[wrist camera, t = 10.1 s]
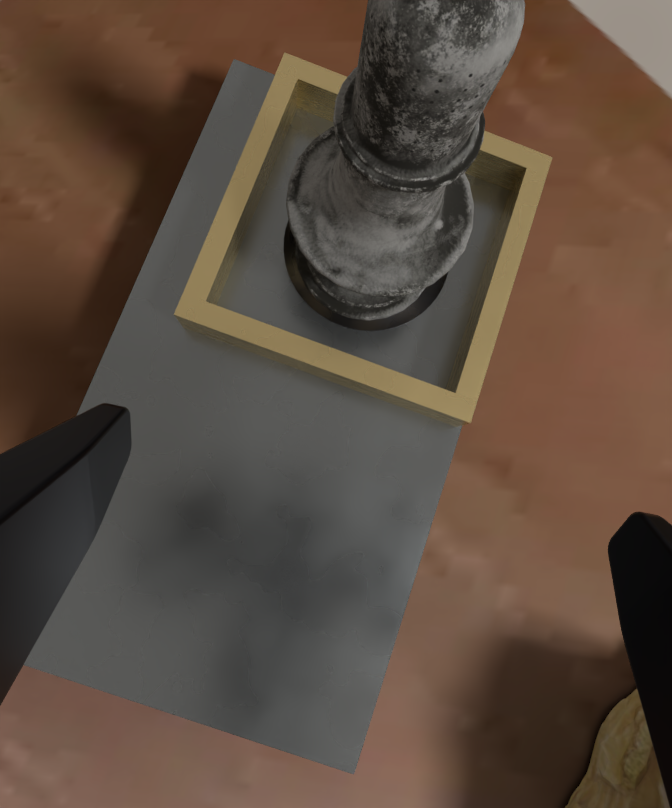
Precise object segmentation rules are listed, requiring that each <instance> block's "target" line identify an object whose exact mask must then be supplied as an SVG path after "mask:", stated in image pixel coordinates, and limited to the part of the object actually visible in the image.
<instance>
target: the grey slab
mask: <svg viewBox="0 0 672 808" xmlns="http://www.w3.org/2000/svg"><path fill="white" fill-rule="evenodd" d="M346 78H347V77H346V76H343V75H341V74H338V73H336V72H333V71H331V70H328V69H325V68H323V67H320V66H318V65H315V64H313V63H310V62H308V61H305V60H302V59H300V58H297V57H295V56H292V55H290V54H287V53H284V55H283V58H282V60H281V62H280V65H279V67H278V69H277V72H276V74H275V75H274V74H271V73H268V72H266V71H263V70H261V69H258V68H256V67H253V66H250V65H248V64H245V63H243V62H240V61H238V60H235V59H234V60H233V62H232V65H231V67H230V69H229V71H228V74H227V76H226V78H225V80H224V83H223V85H222V87H221V89H220V92H219V94H218V96H217V99H216V101H215V103H214V105H213V108H212V110H211V112H210V114H209V117H208V119H207V121H206V123H205V126H204V128H203V130H202V132H201V135H200V137H199V139H198V142H197V144H196V146H195V148H194V151H193V153H192V155H191V157H190V160H189V162H188V164H187V166H186V169H185V171H184V173H183V176H182V178H181V180H180V182H179V185H178V187H177V189H176V191H175V194H174V196H173V198H172V200H171V203H170V205H169V207H168V209H167V212H166V214H165V216H164V219H163V221H162V223H161V225H160V228H159V230H158V232H157V234H156V237H155V239H154V241H153V243H152V246H151V248H150V250H149V253H148V255H147V257H146V259H145V262H144V264H143V266H142V268H141V271H140V273H139V275H138V277H137V280H136V282H135V284H134V286H133V289H132V291H131V293H130V296H129V298H128V300H127V302H126V305H125V307H124V309H123V311H122V314H121V316H120V318H119V320H118V323H117V325H116V327H115V330H114V332H113V334H112V336H111V339H110V341H109V343H108V345H107V348H106V350H105V352H104V354H103V357H102V359H101V361H100V364H99V366H98V368H97V370H96V373H95V375H94V377H93V379H92V382H91V384H90V386H89V388H88V391H87V393H86V395H85V397H84V400H83V402H82V404H81V407H80V409H79V411H78V413H77V415H79V414H81V413H83V412H85V411H87V410H89V409H91V408H93V407H95V406H97V405H100V404H102V403H109V404H114V405H119V406H124V407H126V408H128V409H129V412H130V417H131V439H132V446H131V452H130V456H129V458H128V461H127V463H126V466H125V468H124V470H123V473H122V475H121V478H120V480H119V482H118V485H117V487H116V490H115V492H114V494H113V497H112V499H111V502H110V504H109V506H108V509H107V511H106V514H105V516H104V518H103V521H102V523H101V525H100V528H99V530H98V532H97V534H96V536H95V538H94V540H93V542H92V544H91V546H90V547H89V549H88V551H87V553H86V555H85V556H84V558H83V560H82V562H81V563H80V565H79V567H78V569H77V571H76V572H75V574H74V576H73V578H72V579H71V581H70V583H69V585H68V586H67V588H66V590H65V592H64V594H63V595H62V597H61V599H60V601H59V602H58V604H57V606H56V608H55V609H54V611H53V613H52V615H51V617H50V618H49V620H48V622H47V624H46V625H45V627H44V629H43V631H42V633H41V634H40V636H39V638H38V640H37V641H36V643H35V645H34V647H33V648H32V650H31V652H30V654H29V656H28V657H27V659H26V661H25V663H24V664H23V665H25V666H28V667H31V668H34V669H38V670H41V671H44V672H47V673H50V674H53V675H56V676H59V677H62V678H65V679H68V680H71V681H74V682H77V683H80V684H83V685H86V686H89V687H92V688H95V689H98V690H101V691H104V692H107V693H110V694H113V695H116V696H119V697H122V698H125V699H128V700H131V701H134V702H137V703H140V704H143V705H146V706H149V707H152V708H155V709H158V710H161V711H164V712H167V713H170V714H173V715H176V716H179V717H182V718H185V719H188V720H191V721H194V722H197V723H200V724H203V725H206V726H209V727H212V728H215V729H218V730H221V731H224V732H227V733H230V734H233V735H236V736H239V737H242V738H245V739H249V740H252V741H255V742H258V743H261V744H264V745H267V746H270V747H273V748H276V749H279V750H282V751H285V752H288V753H291V754H294V755H297V756H300V757H303V758H306V759H309V760H312V761H315V762H318V763H321V764H324V765H327V766H330V767H333V768H336V769H339V770H342V771H345V772H348V773H351V774H354V772H355V769H356V766H357V763H358V760H359V756H360V753H361V750H362V747H363V743H364V740H365V737H366V734H367V731H368V727H369V724H370V721H371V718H372V714H373V711H374V708H375V705H376V702H377V698H378V695H379V692H380V689H381V685H382V682H383V679H384V676H385V673H386V669H387V666H388V663H389V660H390V657H391V653H392V650H393V647H394V644H395V640H396V637H397V634H398V631H399V628H400V624H401V621H402V618H403V615H404V611H405V608H406V605H407V602H408V599H409V595H410V592H411V589H412V586H413V582H414V579H415V576H416V573H417V570H418V566H419V563H420V560H421V557H422V553H423V550H424V547H425V544H426V541H427V537H428V534H429V531H430V528H431V524H432V521H433V518H434V515H435V512H436V508H437V505H438V502H439V499H440V495H441V492H442V489H443V486H444V483H445V479H446V476H447V473H448V470H449V466H450V463H451V460H452V457H453V454H454V450H455V447H456V444H457V441H458V437H459V434H460V431H461V428H462V425H465V424H469V423H471V420H472V417H473V413H474V410H475V407H476V404H477V400H478V397H479V394H480V391H481V387H482V384H483V381H484V378H485V374H486V371H487V368H488V365H489V361H490V358H491V355H492V352H493V348H494V345H495V342H496V339H497V335H498V332H499V329H500V326H501V322H502V319H503V316H504V313H505V309H506V306H507V303H508V300H509V297H510V293H511V290H512V287H513V284H514V280H515V277H516V274H517V271H518V267H519V264H520V261H521V258H522V254H523V251H524V248H525V245H526V241H527V238H528V235H529V232H530V228H531V225H532V222H533V219H534V215H535V212H536V209H537V206H538V202H539V199H540V196H541V193H542V189H543V186H544V183H545V180H546V176H547V173H548V170H549V167H550V163H551V160H552V157H550V156H548V155H545V154H543V153H540V152H538V151H535V150H533V149H530V148H527V147H525V146H522V145H520V144H517V143H515V142H512V141H509V140H507V139H504V138H502V137H499V136H497V135H494V134H492V133H489V132H486V131H484V140H483V142H482V145H481V148H480V150H479V153H478V156H477V157H476V159H475V160H474V162H473V163H472V164H471V166H470V167H469V168H468V170H467V171H466V172H465V175H466V177H467V179H468V181H469V184H470V189H471V193H472V198H473V203H474V213H473V228H472V231H471V234H470V237H469V240H468V243H467V245H466V248H465V251H464V252H463V253H462V255H461V256H460V258H459V259H458V260H457V262H456V263H455V264H454V266H453V267H452V269H451V270H450V271H449V272H447V273H446V274H445V275H444V276H442V277H441V278H440V279H439V280H437V281H436V282H435V283H433V284H432V285H430V286H428V287H426V288H425V289H424V290H423V292H422V293H421V294H420V296H419V297H418V299H417V300H416V301H415V302H413V303H412V304H411V305H410V306H408V307H407V308H406V309H405V310H403V311H402V312H399V313H397V314H394V315H392V316H390V317H387V318H383V319H375V320H360V319H352V318H348V317H345V316H343V315H340V314H338V313H335V312H332V311H331V310H330V309H328V308H327V307H326V306H324V305H323V304H321V303H320V302H319V301H317V300H316V298H315V297H314V296H313V295H312V294H311V292H310V291H309V290H308V289H307V287H306V286H305V284H304V282H303V280H302V277H301V275H300V273H299V271H298V267H297V260H296V254H295V248H296V241H295V238H294V236H293V234H292V232H291V230H290V226H289V220H288V214H287V208H286V199H287V191H288V182H289V178H290V176H291V173H292V171H293V169H294V166H295V164H296V162H297V159H298V158H299V156H300V155H301V154H302V153H303V151H304V150H305V149H306V148H307V146H308V145H309V144H310V143H311V142H312V140H314V139H315V138H317V137H318V136H319V135H321V134H322V133H324V132H325V131H326V130H328V129H329V128H331V127H333V126H334V124H333V116H334V108H335V100H336V97H337V95H338V93H339V90H340V88H341V86H342V84H343V82H344V81H345V80H346Z"/></svg>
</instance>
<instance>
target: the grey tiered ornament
mask: <svg viewBox="0 0 672 808" xmlns="http://www.w3.org/2000/svg"><path fill="white" fill-rule="evenodd" d="M524 10H525V2H524V0H368V5H367V11H366V17H365V24H364V30H363V36H362V42H361V48H360V54H359V61H358V67H357V68H355V69H354V70H353V71H352V72H351V74H350V75H349V76H348V77H347V78H346V80H345V81H344V82H343V84H342V86H341V88H340V90H339V93H338V95H337V97H336V100H335V108H334V116H333V124H334V126H333V127H331V128H329V129H328V130H326V131H325V132H324V133H322V134H321V135H319V136H318V137H317V138H315V139H314V140H312V142H311V143H310V144H309V145H308V146H307V148H306V149H305V150H304V151H303V153H302V154H301V155H300V156H299V158H298V159H297V162H296V164H295V166H294V169H293V171H292V173H291V176H290V178H289V182H288V191H287V199H286V208H287V214H288V220H289V226H290V230H291V232H292V234H293V236H294V238H295V241H296V248H295V254H296V260H297V267H298V271H299V273H300V275H301V277H302V280H303V282H304V284H305V286H306V287H307V289H308V290H309V291H310V292H311V294H312V295H313V296H314V297H315V298H316V300H317V301H319V302H320V303H321V304H323V305H324V306H326V307H327V308H328V309H330V310H331V311H332V312H335V313H338V314H340V315H343V316H345V317H348V318H352V319H360V320H375V319H383V318H387V317H390V316H392V315H394V314H397V313H399V312H402V311H403V310H405V309H406V308H407V307H408V306H410V305H411V304H412V303H413V302H415V301H416V300H417V299H418V297H419V296H420V294H421V293H422V292H423V290H424V289H425V288H426V287H428V286H430V285H432V284H433V283H435V282H436V281H437V280H439V279H440V278H441V277H442V276H444V275H445V274H446V273H447V272H449V271H450V270H451V269H452V267H453V266H454V264H455V263H456V262H457V260H458V259H459V258H460V256H461V255H462V253H463V252H464V251H465V248H466V245H467V243H468V240H469V237H470V234H471V231H472V228H473V213H474V203H473V198H472V193H471V189H470V184H469V181H468V179H467V177H466V175H465V172H466V171H467V170H468V168H469V167H470V166H471V164H472V163H473V162H474V160H475V159H476V157H477V156H478V153H479V150H480V148H481V145H482V142H483V140H484V129H485V118H484V113H483V110H484V108H485V106H486V104H487V102H488V100H489V98H490V97H491V95H492V93H493V91H494V89H495V87H496V85H497V83H498V82H499V80H500V78H501V76H502V74H503V72H504V70H505V68H506V67H507V65H508V63H509V61H510V59H511V57H512V55H513V53H514V51H515V48H516V46H517V43H518V40H519V38H520V34H521V30H522V27H523V23H524Z"/></svg>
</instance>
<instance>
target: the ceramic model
mask: <svg viewBox="0 0 672 808" xmlns="http://www.w3.org/2000/svg"><path fill="white" fill-rule="evenodd" d="M565 808H670V807H669V803H668V799H667V796H666V792H665V789H664V785H663V781H662V778H661V774H660V770H659V767H658V763H657V759H656V756H655V752H654V749H653V745H652V741H651V738H650V734H649V730H648V727H647V723H646V720H645V716H644V712H643V709H642V705H641V701H640V698H639V694H638V691H637V689H635V690H634V691H633V692H632V693H631V694H630V695H629V696H628V697H627V698H626V699H623V700H621V701H620V702H619V703H618V704H617V705H616V706H615V707H614V708H613V709H612V710H611V712H610V713H609V714H608V716H607V718H606V720H605V721H604V723H602V725H601V727H600V730H599V733H598V735H597V738H596V742H595V745H594V749H593V753H592V757H591V761H590V765H589V768H588V771H587V773H586V775H585V777H584V778H583V780H582V782H581V783H580V785H579V787H577V788H576V790H575V791H574V793H573V794H572V796H571V798H570V800H569V803H568V805H567V806H565Z"/></svg>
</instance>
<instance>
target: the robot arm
mask: <svg viewBox="0 0 672 808" xmlns="http://www.w3.org/2000/svg"><path fill="white" fill-rule="evenodd" d="M131 446H132V439H131V417H130V412H129V409H128V408H126V407H124V406H119V405H114V404H109V403H102V404H100V405H97V406H95V407H93V408H91V409H89V410H87V411H85V412H83V413H81V414H79V415H77V416H75V417H73V418H71V419H70V420H68V421H66V422H64V423H62V424H60V425H58V426H56V427H54V428H52V429H50V430H48V431H46V432H44V433H42V434H40V435H38V436H36V437H34V438H32V439H30V440H28V441H26V442H24V443H22V444H20V445H18V446H16V447H14V448H12V449H10V450H8V451H6V452H4V453H2V454H0V705H1V703H2V702H3V700H4V698H5V696H6V695H7V693H8V691H9V689H10V687H11V686H12V684H13V682H14V680H15V679H16V677H17V675H18V673H19V672H20V670H21V668H22V666H23V664H24V663H25V661H26V659H27V657H28V656H29V654H30V652H31V650H32V648H33V647H34V645H35V643H36V641H37V640H38V638H39V636H40V634H41V633H42V631H43V629H44V627H45V625H46V624H47V622H48V620H49V618H50V617H51V615H52V613H53V611H54V609H55V608H56V606H57V604H58V602H59V601H60V599H61V597H62V595H63V594H64V592H65V590H66V588H67V586H68V585H69V583H70V581H71V579H72V578H73V576H74V574H75V572H76V571H77V569H78V567H79V565H80V563H81V562H82V560H83V558H84V556H85V555H86V553H87V551H88V549H89V547H90V546H91V544H92V542H93V540H94V538H95V536H96V534H97V532H98V530H99V528H100V525H101V523H102V521H103V518H104V516H105V514H106V511H107V509H108V506H109V504H110V502H111V499H112V497H113V494H114V492H115V490H116V487H117V485H118V482H119V480H120V478H121V475H122V473H123V470H124V468H125V466H126V463H127V461H128V458H129V456H130V452H131ZM608 555H609V561H610V567H611V573H612V579H613V585H614V591H615V597H616V603H617V609H618V615H619V620H620V625H621V631H622V635H623V639H624V643H625V647H626V651H627V654H628V658H629V662H630V665H631V669H632V672H633V676H634V680H635V683H636V687H637V691H638V694H639V698H640V701H641V705H642V709H643V712H644V716H645V720H646V723H647V727H648V730H649V734H650V738H651V741H652V745H653V749H654V752H655V756H656V759H657V763H658V767H659V770H660V774H661V778H662V781H663V785H664V789H665V792H666V796H667V799H668V803H669V807H670V808H672V525H671V524H669V523H668V522H667V521H666V520H665V519H663V518H662V517H660V516H658V515H654V514H649V513H644V512H635V513H633V514H631V515H630V516H629V517H628V519H627V520H626V521H625V522H624V523H623V525H622V526H621V527H620V528H619V529H618V531H617V532H616V533H615V534H614V535H613V537H612V538H611V539H610V542H609V545H608Z"/></svg>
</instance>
